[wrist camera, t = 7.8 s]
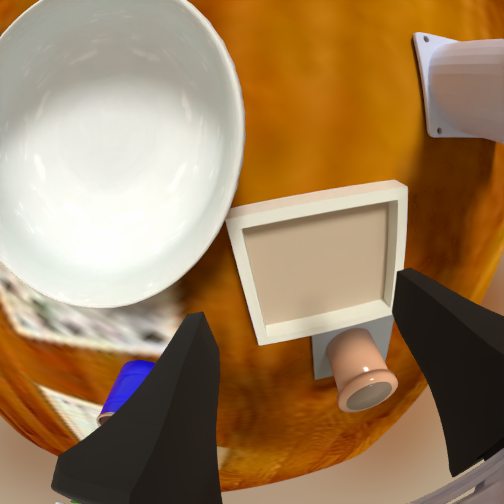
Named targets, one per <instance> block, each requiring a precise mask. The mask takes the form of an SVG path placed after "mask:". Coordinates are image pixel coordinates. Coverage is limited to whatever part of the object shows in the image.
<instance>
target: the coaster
mask: <svg viewBox="0 0 504 504" xmlns="http://www.w3.org/2000/svg"><path fill="white" fill-rule="evenodd" d="M393 320H394V317H393V314H392V315H389V316H385V317H382V318H378V319H375V320H371V321H368V322H364V323H360V324H357V325H353V326H349V327H345V328H341V329H337V330H333V331H329V332H324V333H320V334H315V335H311V343H312V355H313V369H314V378H315V380H318V379H322V378H326V377H330V376H333V372H332V369H331V366H330V363H329V360H328V357H327V354H326V349H327V346H328V344H329V342H330V341H331V340H332V339H333V338H334V337H335V336H337V335H338V334H340V333H342V332H344V331H346V330H349V329H353V328H364V329H366V330H368V331H369V332H370V333H371V335H372V337H373V339H374V341H375V343H376V345H377V348H378V350H379V352H380V354H381V356H382V358H383V360H384V361H385V360H386V355H387V351H388V346H389V341H390V337H391V331H392V326H393Z"/></svg>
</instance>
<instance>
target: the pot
mask: <svg viewBox="0 0 504 504" xmlns="http://www.w3.org/2000/svg"><path fill="white" fill-rule="evenodd" d="M326 354H327V357H328V360H329V363H330V366H331V369H332V372H333V376H334V379H335V382H336V385H337V388H338V391H339V393H338V395H337V401H338V404H339V407H340V409H341V410H342V411H345V412H359V411H363V410H366V409H369V408H372V407H374V406H376V405H378V404H380V403H382V402H383V401H385V400H386V399H387V398H389V397H390V396H391V395H392V394H393V393H394V391H395V390H396V388H397V386H398V381H397V379H396V377H395V375H394V373H393V372H392V371H391V370H388V368H387V366H386V364H385V362H384V360H383V358H382V356H381V354H380V352H379V350H378V348H377V345H376V343H375V341H374V339H373V337H372V335H371V333H370V332H369V331H368V330H366V329H364V328H353V329H349V330H346V331H344V332H342V333H340V334H338V335H337V336H335V337H334V338H333V339H332V340H331V341H330V342H329V344H328V346H327V349H326Z"/></svg>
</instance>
